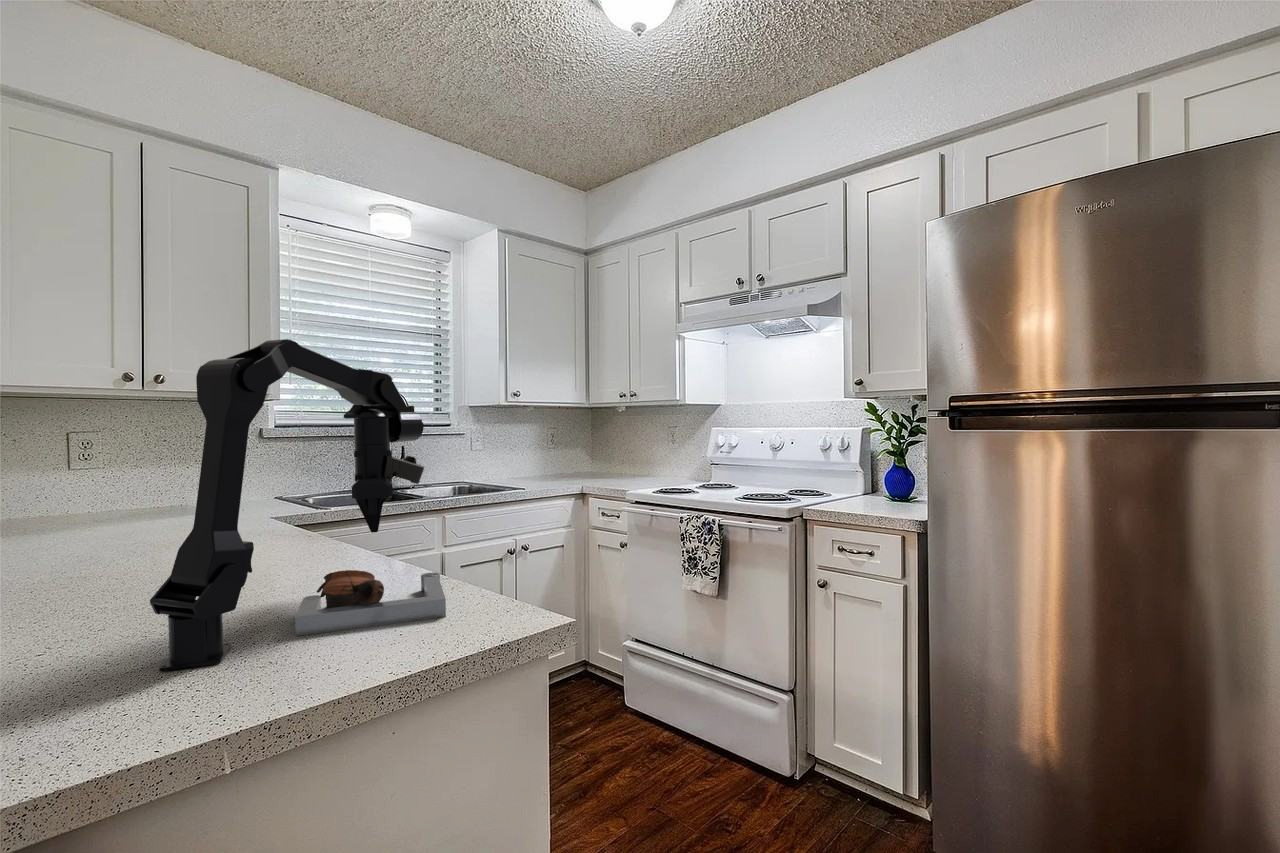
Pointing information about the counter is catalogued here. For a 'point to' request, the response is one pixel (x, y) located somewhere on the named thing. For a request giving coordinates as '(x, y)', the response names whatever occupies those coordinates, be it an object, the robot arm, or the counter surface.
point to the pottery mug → (351, 588)
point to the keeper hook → (372, 610)
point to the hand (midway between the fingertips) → (374, 532)
